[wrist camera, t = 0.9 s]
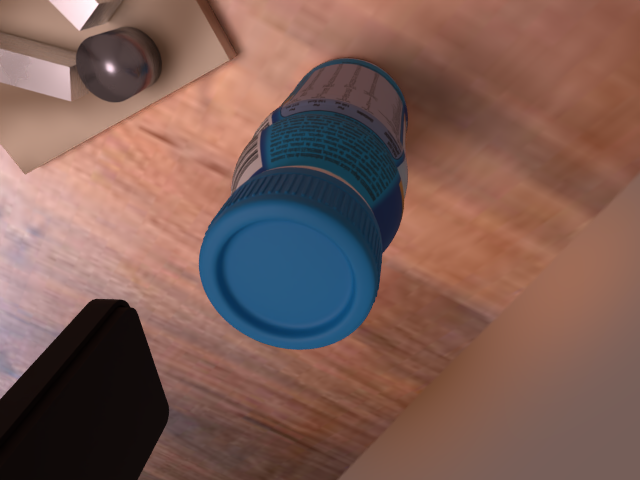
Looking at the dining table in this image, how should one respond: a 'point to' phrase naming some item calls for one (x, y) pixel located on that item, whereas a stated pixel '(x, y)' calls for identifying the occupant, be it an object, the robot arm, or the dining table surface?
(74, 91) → the tongs jaw
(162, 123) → the dining table surface
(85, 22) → the tongs base
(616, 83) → the dining table surface
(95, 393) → the robot arm
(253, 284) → the beverage bottle
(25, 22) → the maple board
